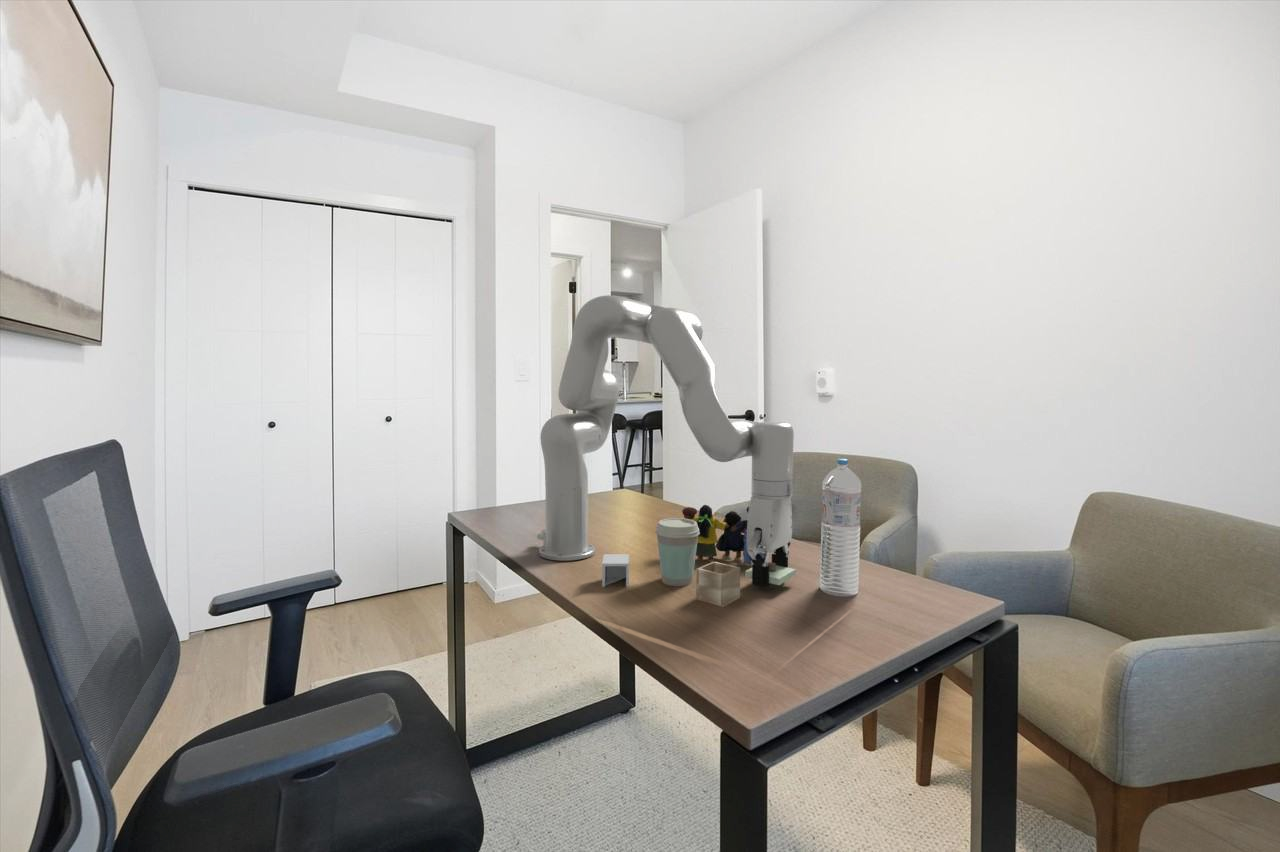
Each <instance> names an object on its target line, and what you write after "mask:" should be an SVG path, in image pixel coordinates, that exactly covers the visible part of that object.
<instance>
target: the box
mask: <svg viewBox="0 0 1280 852" xmlns="http://www.w3.org/2000/svg"><path fill="white" fill-rule="evenodd" d="M695 580H696V587H695V589H696V590H695V591H696V594H695V595H696V597H695V599H696V600H698V601H701V602H704V603H709V604H712V605H716V606H719V607H722V608H723V607H725V606H728V605H730V604H731V603H733V602H735V601H737V600H738V599H740V598H741V567H740V566H737V565H736V566H735V565H732V564H731V565H730V564H727V563H723V562H722V563H721V562H718V561H715V560H714V561H710V563H707V564H705V565H701V566H700V567H698V568H696V579H695Z"/></svg>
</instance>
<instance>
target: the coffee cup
mask: <svg viewBox="0 0 1280 852" xmlns="http://www.w3.org/2000/svg"><path fill="white" fill-rule="evenodd" d="M655 534H656V535H657V537H656V539H657V545H658V546H657V547H658V557H659V565H660V567H659V568H660V574H661V582H662V583H663V584H664V585H667V586H673V587H685V586H688V585H691V584H692V583H693V582H694V581H693V580H694V574H695V573H694V571H695V564H696V548H697V540H698V535H699V534H700V532H699V528H698V525H697V522H696V521H693V520H690V519H685V518H684V517H683V518H681V517H679V518H678V517H677V518H675V517H672V518H664V519H660V520H659V521H658V523H657V526H656V528H655Z"/></svg>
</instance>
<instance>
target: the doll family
mask: <svg viewBox="0 0 1280 852" xmlns="http://www.w3.org/2000/svg"><path fill="white" fill-rule="evenodd" d="M745 510H746V512H747V513H748V512H749V506H747V508H746V509H745ZM681 511H682V514H683V519H690V520H693V521H696V522H697V525H698V528H699V532H700V534H699V535H698V540H697V548H696V556H697V558H696V559H697V560H698V561H699V562H700V561H703V560H705V558H707V560H708V562H713V561H714V562H715V559H716V558H714V557H717V556H718V554H717V551H719V552H724V553H723V554H722V557H723V559H725V560H731V559H732V554H731V552H733V553H736V554H735V557H734V561H736V562H737V561H739V562H740V561H743V565H744V566H747V567H752V564H751V559H750V555H749V553H748V552H747V543H746V540H747V523H748V519H744V520H742V517H741V516H740V515H739V513H737V512H736V511H734V510H731V511H729V512H727V513H726V514H725V515H724V518H723V521H722V520H720V519H718V518H714V514H713V508H712V507H710V506H709V505H708V504H704V505H702V506H701V507H700V508H699V510H697V509H696V508H694V507H692V506H691V507H690V506H687V507H683V509H682V510H681ZM697 513H698V515H697ZM696 515H697V516H698V517H696ZM717 529H718V530H721V532H722V530H723V533H722V534H721V535H720V536H719V538H718V537H717V533H716V530H717ZM759 548H763V549H765V548H764V546H759ZM759 554H760V555H761V556H762V558H763V556H764V553H762V552H759Z"/></svg>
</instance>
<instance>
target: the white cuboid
mask: <svg viewBox="0 0 1280 852" xmlns="http://www.w3.org/2000/svg"><path fill="white" fill-rule="evenodd" d="M601 578H602V579H601V587H602V588H604V587H606V586H608V585H611V584H614V583H617V582H618V581H621V580H623V579H625V587H626V588H628V587H630V553H629V554H628V553H627V554H626V553H621V554H619V553H607V554H606V553H604V554H603V557H602V561H601Z"/></svg>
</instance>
